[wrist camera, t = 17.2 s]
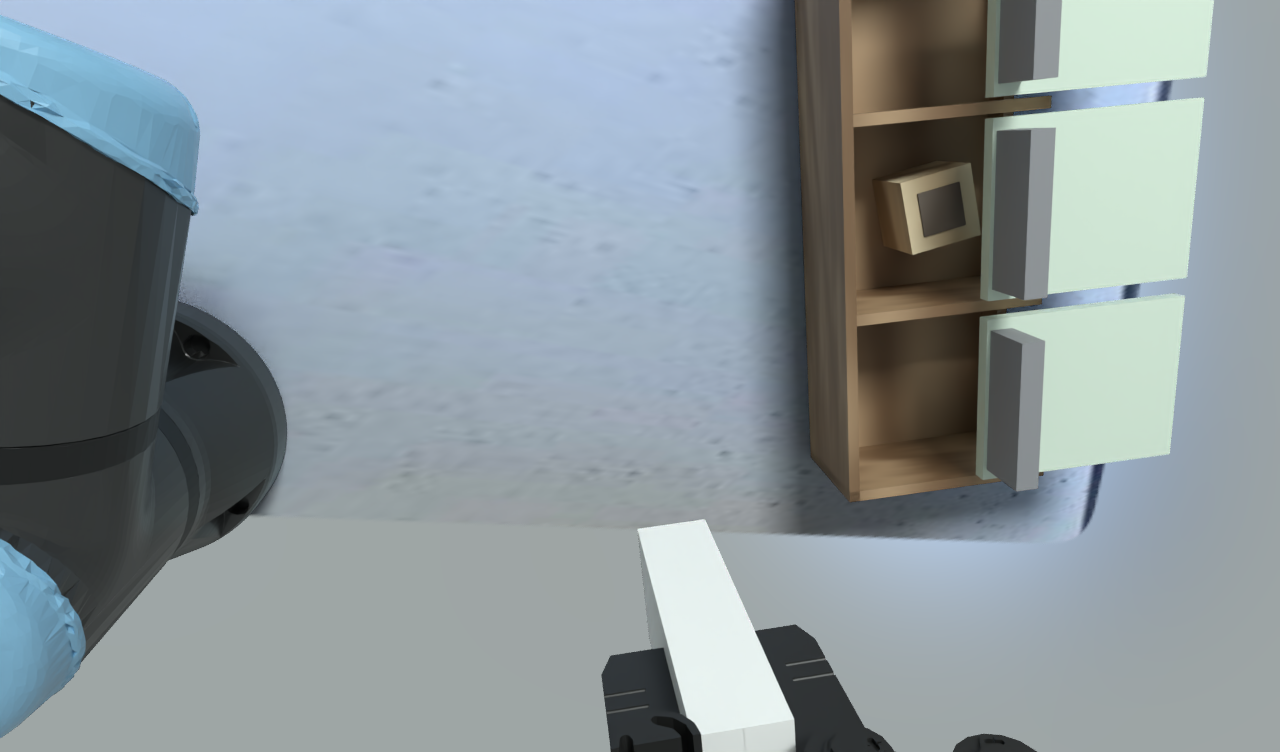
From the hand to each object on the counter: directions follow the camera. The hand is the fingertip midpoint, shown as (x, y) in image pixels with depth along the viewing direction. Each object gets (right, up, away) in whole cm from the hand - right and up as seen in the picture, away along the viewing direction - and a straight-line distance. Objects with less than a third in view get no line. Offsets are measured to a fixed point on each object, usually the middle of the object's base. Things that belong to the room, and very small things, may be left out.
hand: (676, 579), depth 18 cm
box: (+15, +15, +31) cm, 38 cm away
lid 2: (+22, +14, +25) cm, 36 cm away
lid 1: (+22, +23, +22) cm, 39 cm away
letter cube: (+15, +15, +31) cm, 37 cm away
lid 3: (+23, +4, +28) cm, 37 cm away
